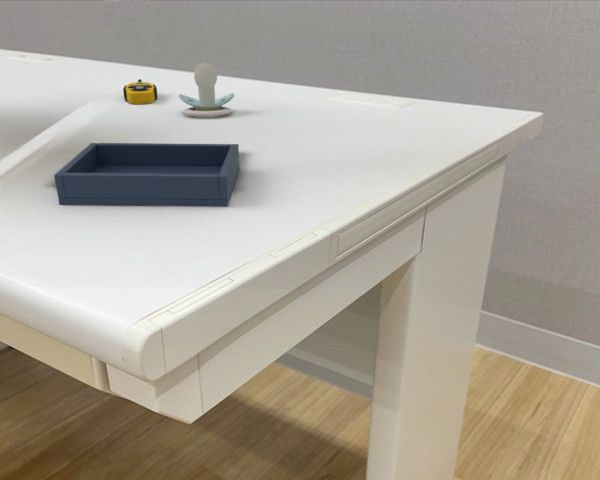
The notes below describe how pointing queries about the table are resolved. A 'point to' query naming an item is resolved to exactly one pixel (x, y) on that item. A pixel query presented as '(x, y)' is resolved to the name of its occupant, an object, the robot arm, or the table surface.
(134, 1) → the supplement bottle
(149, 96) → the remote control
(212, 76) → the pacifier
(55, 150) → the table surface
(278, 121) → the table surface
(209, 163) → the tray
